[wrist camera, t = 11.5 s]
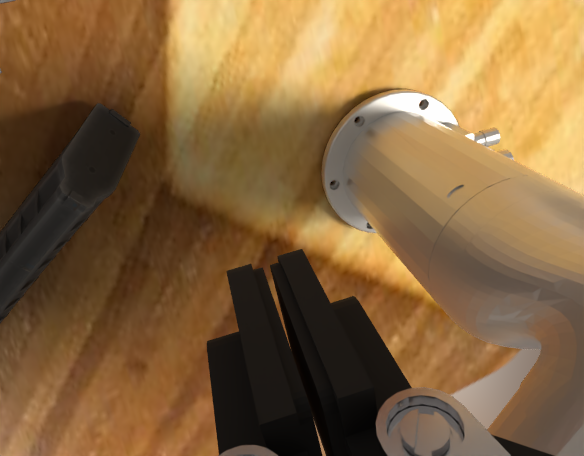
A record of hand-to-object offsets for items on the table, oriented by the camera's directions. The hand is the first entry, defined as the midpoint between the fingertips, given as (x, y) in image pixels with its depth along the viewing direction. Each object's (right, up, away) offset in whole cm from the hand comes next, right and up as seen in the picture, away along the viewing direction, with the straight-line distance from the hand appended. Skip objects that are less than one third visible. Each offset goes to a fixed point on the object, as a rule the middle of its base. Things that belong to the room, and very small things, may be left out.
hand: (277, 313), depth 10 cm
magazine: (-22, -1, +26) cm, 35 cm away
